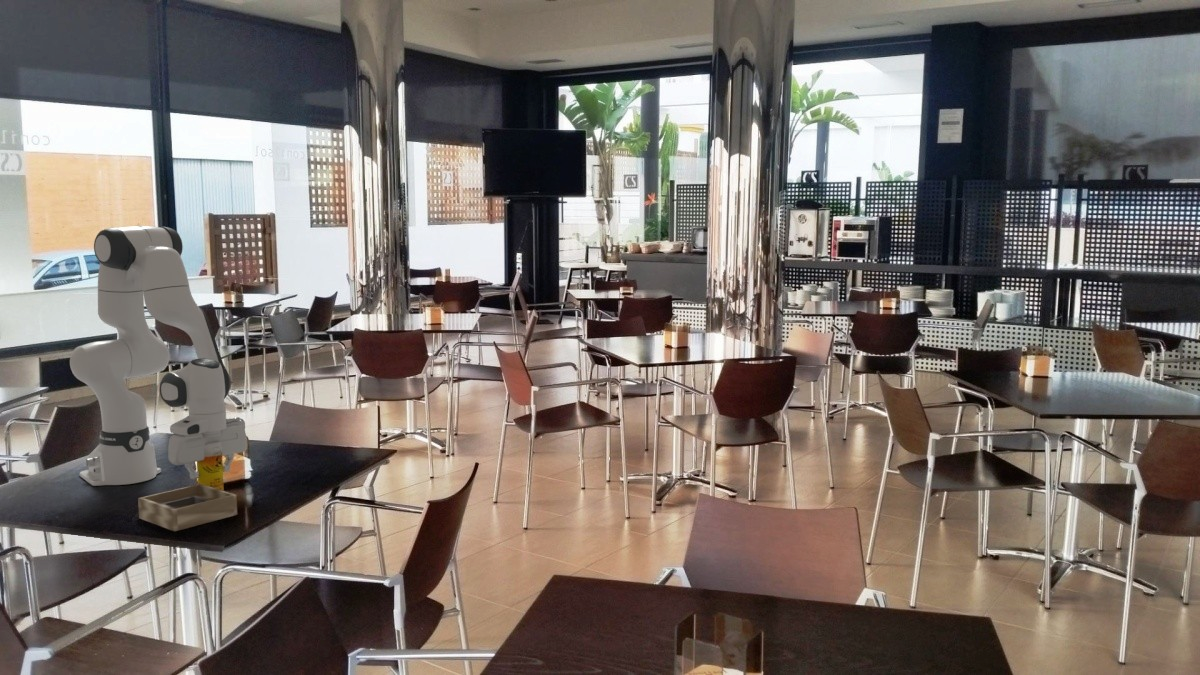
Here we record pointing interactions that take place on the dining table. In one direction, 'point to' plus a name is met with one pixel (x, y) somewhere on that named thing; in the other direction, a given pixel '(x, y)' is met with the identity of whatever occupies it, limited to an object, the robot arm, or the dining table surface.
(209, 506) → the crate
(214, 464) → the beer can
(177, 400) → the robot arm
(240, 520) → the dining table surface
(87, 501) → the dining table surface
